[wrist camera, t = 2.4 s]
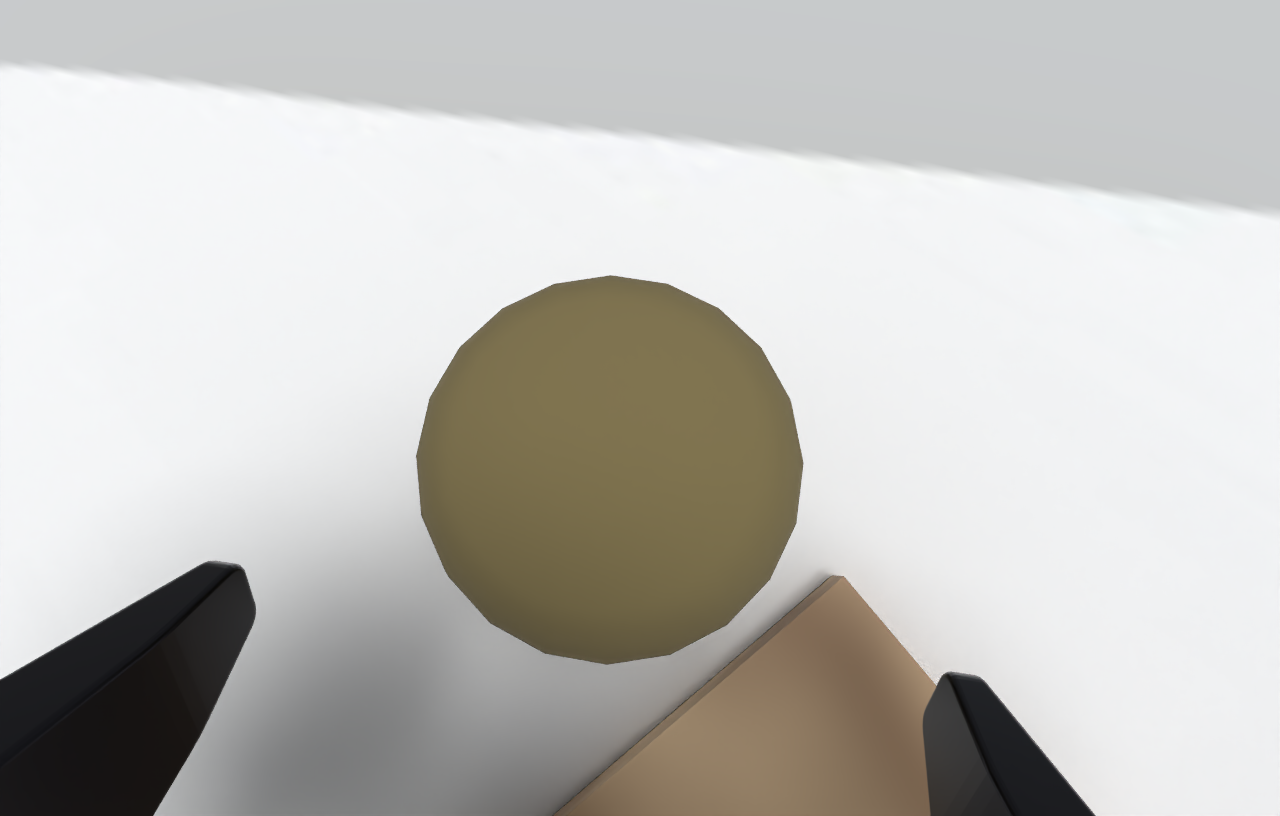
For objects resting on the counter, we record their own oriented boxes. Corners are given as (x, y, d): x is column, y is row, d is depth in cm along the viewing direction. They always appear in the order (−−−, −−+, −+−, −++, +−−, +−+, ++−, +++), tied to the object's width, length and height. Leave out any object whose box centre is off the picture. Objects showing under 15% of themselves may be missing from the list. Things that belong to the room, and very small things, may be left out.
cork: (793, 539, 19) (978, 505, 8) (603, 680, 18) (530, 847, 7) (657, 358, 20) (661, 117, 9) (474, 486, 19) (248, 386, 9)
